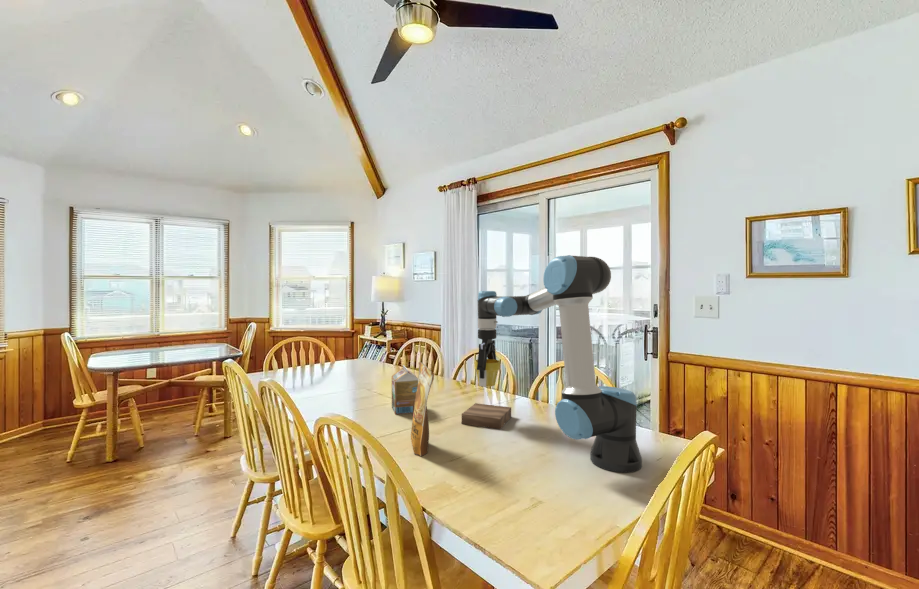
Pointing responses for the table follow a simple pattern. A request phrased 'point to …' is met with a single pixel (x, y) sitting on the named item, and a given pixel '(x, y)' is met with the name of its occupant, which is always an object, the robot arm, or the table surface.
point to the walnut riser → (486, 416)
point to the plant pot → (489, 371)
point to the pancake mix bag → (421, 412)
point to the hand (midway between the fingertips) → (487, 383)
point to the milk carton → (404, 391)
